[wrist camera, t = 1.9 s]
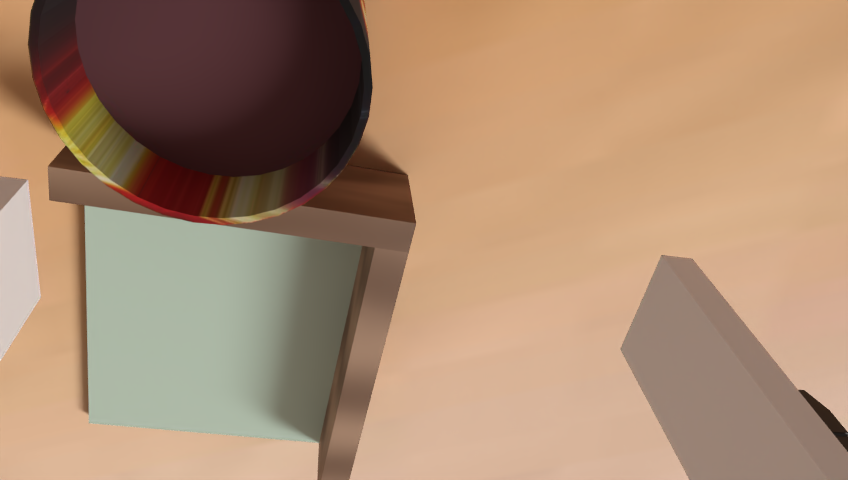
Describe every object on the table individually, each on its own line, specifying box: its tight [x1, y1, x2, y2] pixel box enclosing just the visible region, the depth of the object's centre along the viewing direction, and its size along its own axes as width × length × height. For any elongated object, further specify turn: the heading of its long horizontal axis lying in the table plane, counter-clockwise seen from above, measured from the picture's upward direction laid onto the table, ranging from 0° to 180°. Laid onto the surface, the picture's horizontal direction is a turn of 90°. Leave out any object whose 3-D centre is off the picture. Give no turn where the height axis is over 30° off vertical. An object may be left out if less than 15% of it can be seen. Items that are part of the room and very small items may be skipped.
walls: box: [48, 146, 416, 480], centre depth 36 cm, size 20×16×5 cm
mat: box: [85, 206, 362, 443], centre depth 39 cm, size 18×14×1 cm
